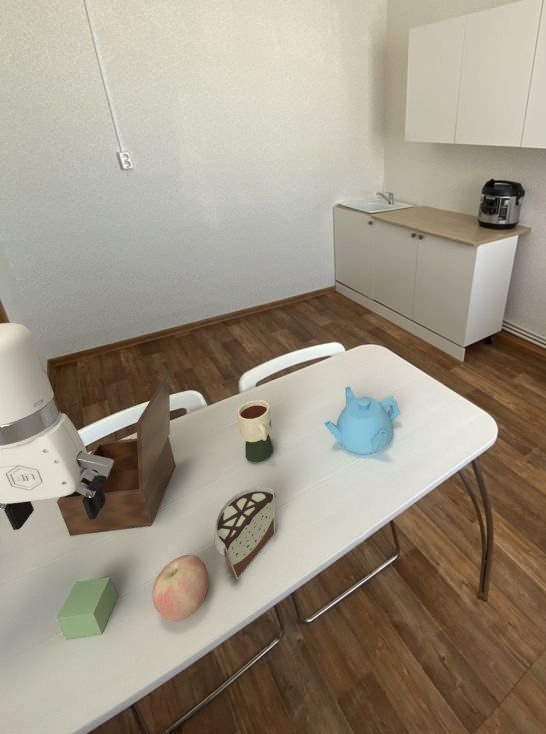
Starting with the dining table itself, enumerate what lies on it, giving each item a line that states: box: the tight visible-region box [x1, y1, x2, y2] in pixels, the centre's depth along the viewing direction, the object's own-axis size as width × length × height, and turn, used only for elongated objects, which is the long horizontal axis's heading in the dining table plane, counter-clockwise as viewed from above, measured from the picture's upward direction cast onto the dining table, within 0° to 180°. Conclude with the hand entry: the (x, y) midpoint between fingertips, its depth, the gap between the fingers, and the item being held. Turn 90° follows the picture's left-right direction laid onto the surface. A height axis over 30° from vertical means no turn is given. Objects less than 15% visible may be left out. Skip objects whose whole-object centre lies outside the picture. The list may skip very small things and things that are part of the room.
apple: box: [151, 554, 210, 622], centre depth 60 cm, size 8×8×8 cm
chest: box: [56, 435, 176, 537], centre depth 78 cm, size 15×15×9 cm
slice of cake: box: [213, 486, 278, 581], centre depth 68 cm, size 12×6×10 cm, turn 149°
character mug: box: [236, 399, 274, 463], centre depth 88 cm, size 11×7×13 cm, turn 37°
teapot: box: [323, 385, 401, 456], centre depth 93 cm, size 15×15×11 cm
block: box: [56, 576, 118, 640], centre depth 59 cm, size 5×5×5 cm
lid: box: [136, 373, 171, 490], centre depth 75 cm, size 15×15×1 cm
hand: (61, 515), depth 55 cm, fingers open, 9 cm apart
